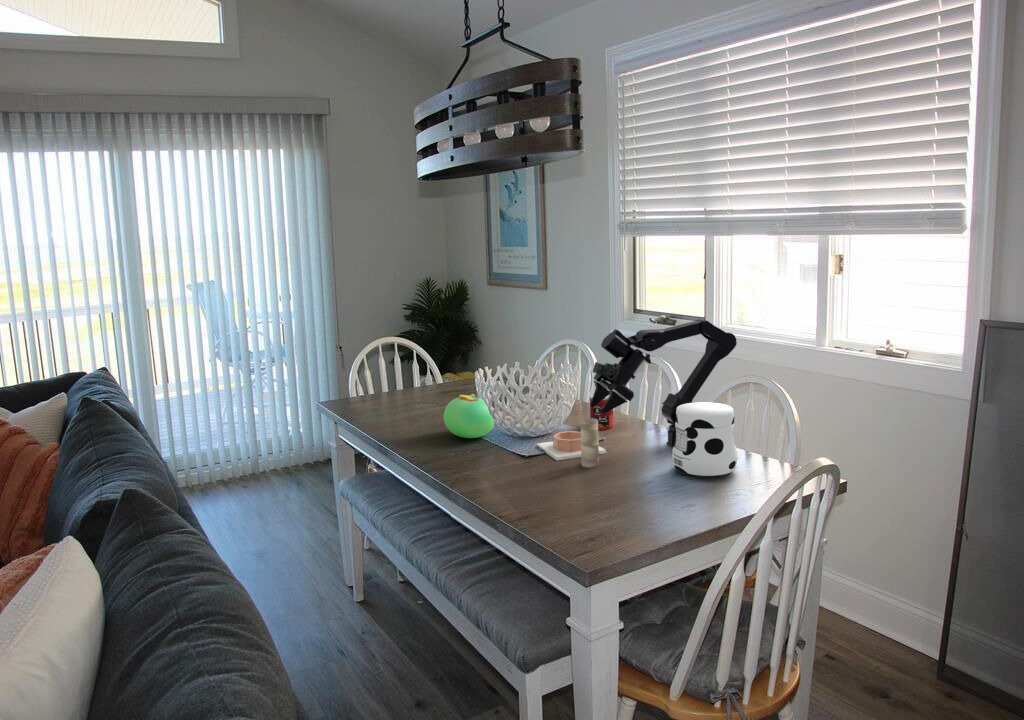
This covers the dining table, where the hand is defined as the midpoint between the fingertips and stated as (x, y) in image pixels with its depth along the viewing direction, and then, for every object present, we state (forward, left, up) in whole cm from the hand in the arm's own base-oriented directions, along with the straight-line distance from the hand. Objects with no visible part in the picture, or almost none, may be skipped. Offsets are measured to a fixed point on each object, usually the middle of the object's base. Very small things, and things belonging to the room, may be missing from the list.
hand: (596, 409), depth 228 cm
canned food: (-15, -27, -14) cm, 34 cm away
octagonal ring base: (+5, -8, -14) cm, 17 cm away
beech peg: (+6, +8, -14) cm, 17 cm away
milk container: (-19, +28, -14) cm, 36 cm away
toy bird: (+28, -37, -14) cm, 49 cm away
